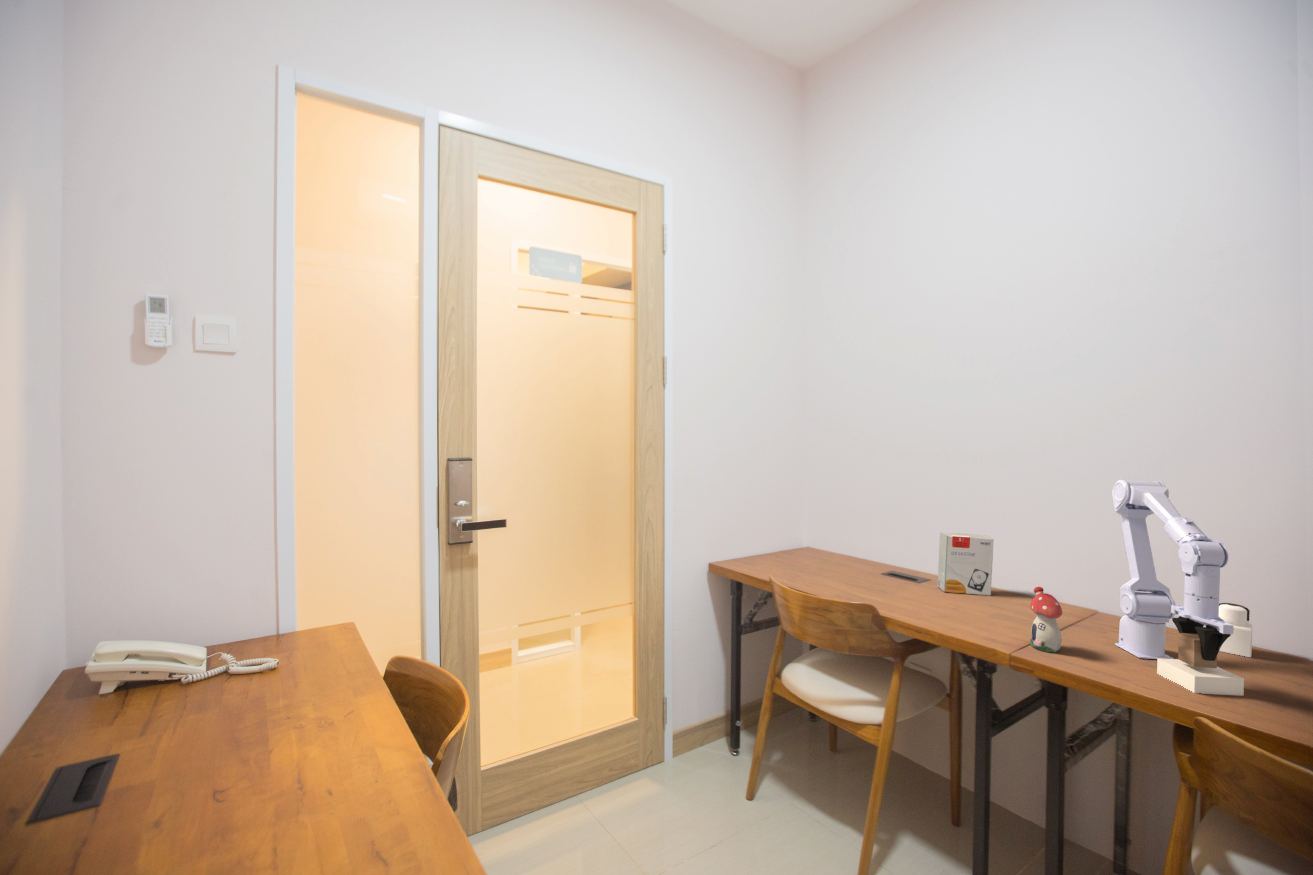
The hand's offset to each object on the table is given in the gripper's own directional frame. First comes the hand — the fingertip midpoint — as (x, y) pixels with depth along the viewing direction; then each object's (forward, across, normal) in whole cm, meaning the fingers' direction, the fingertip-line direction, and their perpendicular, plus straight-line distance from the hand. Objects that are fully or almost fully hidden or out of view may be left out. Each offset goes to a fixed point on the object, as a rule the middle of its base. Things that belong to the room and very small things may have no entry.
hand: (1199, 655), depth 129 cm
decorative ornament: (+7, -18, -23) cm, 30 cm away
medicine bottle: (+7, -25, +26) cm, 37 cm away
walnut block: (+2, 0, 0) cm, 2 cm away
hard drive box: (+7, -72, -22) cm, 76 cm away
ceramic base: (+7, 0, 0) cm, 7 cm away
